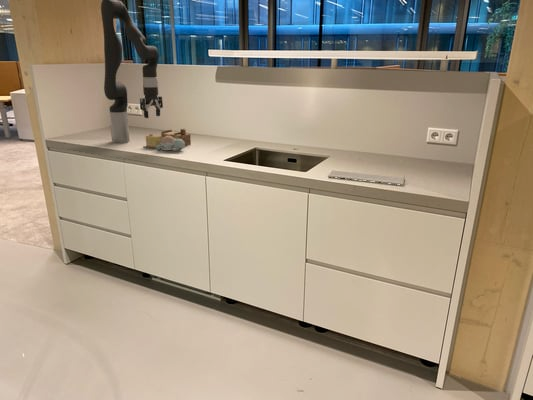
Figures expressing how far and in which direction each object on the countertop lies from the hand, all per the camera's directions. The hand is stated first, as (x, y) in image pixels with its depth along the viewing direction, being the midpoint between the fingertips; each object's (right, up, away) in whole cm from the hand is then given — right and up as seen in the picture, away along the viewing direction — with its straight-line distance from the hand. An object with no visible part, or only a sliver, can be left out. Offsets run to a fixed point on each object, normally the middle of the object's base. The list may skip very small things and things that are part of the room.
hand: (152, 117), depth 220 cm
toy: (+10, -19, -1) cm, 21 cm away
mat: (0, -16, +5) cm, 17 cm away
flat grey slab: (+105, -36, -45) cm, 119 cm away
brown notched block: (+10, -13, +14) cm, 21 cm away
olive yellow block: (0, -15, +5) cm, 16 cm away
